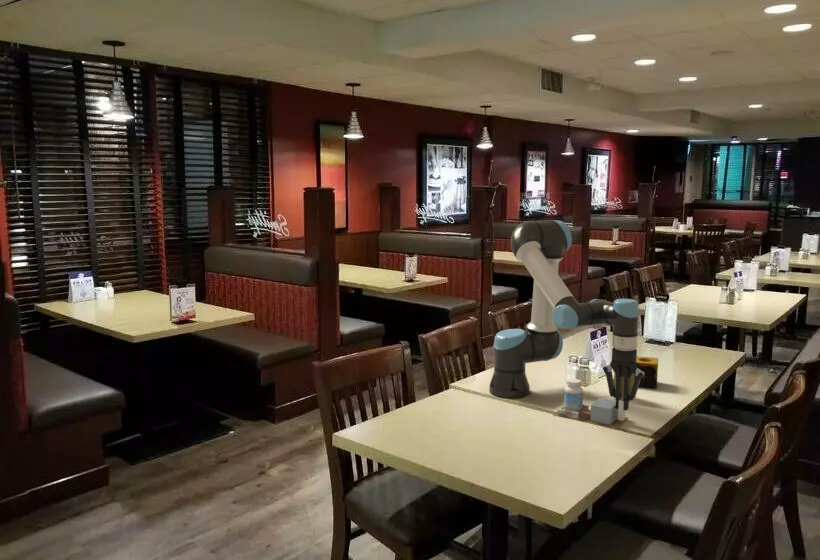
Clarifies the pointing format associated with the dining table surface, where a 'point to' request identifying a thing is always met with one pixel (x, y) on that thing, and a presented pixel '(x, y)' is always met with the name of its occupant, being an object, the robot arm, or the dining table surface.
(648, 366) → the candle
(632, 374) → the squeeze bottle
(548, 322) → the robot arm
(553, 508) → the dining table surface
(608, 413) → the cover
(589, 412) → the board
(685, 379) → the dining table surface
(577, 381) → the pill bottle
